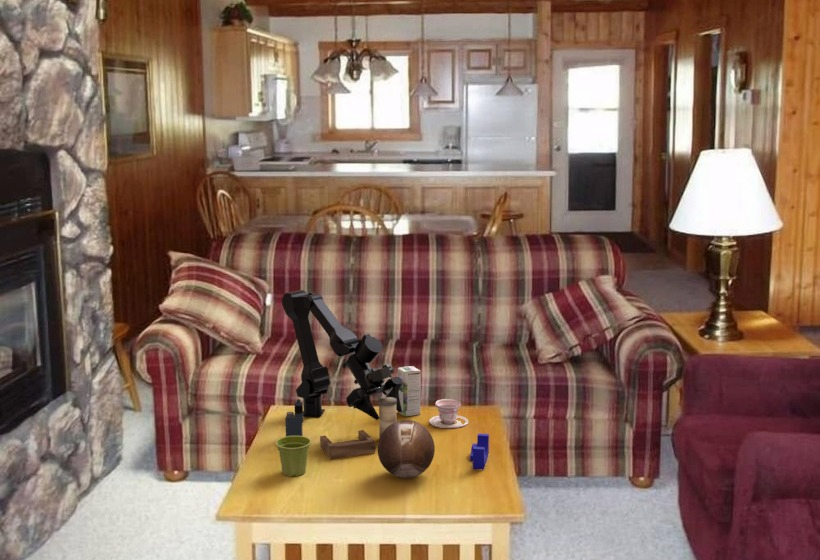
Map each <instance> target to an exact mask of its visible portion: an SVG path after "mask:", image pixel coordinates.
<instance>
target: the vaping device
mask: <svg viewBox="0 0 820 560" xmlns="http://www.w3.org/2000/svg"><path fill="white" fill-rule="evenodd" d="M303 411H304V409H303V401H301V399H299V398H298V399H296V401H295V402H294V412H293V411H287V412H286V415H285V419H284V421H285V437H287V436H304V434H303V431H304V430H303V423H304V416H303Z"/></svg>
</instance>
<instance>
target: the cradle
mask: <svg viewBox="0 0 820 560" xmlns="http://www.w3.org/2000/svg"><path fill="white" fill-rule="evenodd" d="M357 433H358V438H357V439H351V440H344V441H337V442H332V441H331V440H330V439H329V438H328V437H327V436H326V435H320V436H319V438H320V439H319V440H320V442H319V443H320V447H321V448H322V449H323V450H322V449H321V448H320V449H321V450H322V451H323V453H325V455H326V456H328V458H330V459H331V460H336V458H337V459H343V457H344V458H349V456H350V457H357V456H362V455H368V454H375V453H377V452H376V448H377V447H376V440H375V439H374V438H373V437H372V436H370V434H369V433H368V432H366V431H365V430H364V429H361V430H358V432H357Z"/></svg>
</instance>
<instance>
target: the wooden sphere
mask: <svg viewBox="0 0 820 560" xmlns="http://www.w3.org/2000/svg"><path fill="white" fill-rule="evenodd" d="M435 448H436V446H435V442H434V438H433V436H432V434H431V432H430V431H429V429H428V428H427V427H426V426H424V425H423V424H421V423H419V422H417V421H415V420H410V419H402V420H398V421H397V422H395V423H393V424H391V425H389V426H388V427H387V428H386V429H385V430H384V431H383V433H382V434H381V436H379V439H378V442H377V456H378V459H379V461H380V463H381V465H382V467H383V469H385V471H387V472H388V473H389V474H390V475H393V476H395V477H396V478H397V477H398V478H402V479H410V478H415V477H418V476H420V475H421V474H423V473H424V472H426V470H428V468H429V467H430V466H431V464H432V462H433V459H434V457H435V451H436V450H435Z"/></svg>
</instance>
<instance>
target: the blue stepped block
mask: <svg viewBox="0 0 820 560" xmlns="http://www.w3.org/2000/svg"><path fill="white" fill-rule="evenodd" d="M488 454H490V434H489V433H477V442H476V443H472V444H471V448H470V455H469V461H470V462H472V470H477V469H482V470H481V471H484V470H485V468H486V465H485V464H487V461H488V457H489V455H488ZM484 467H485V468H484Z"/></svg>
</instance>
